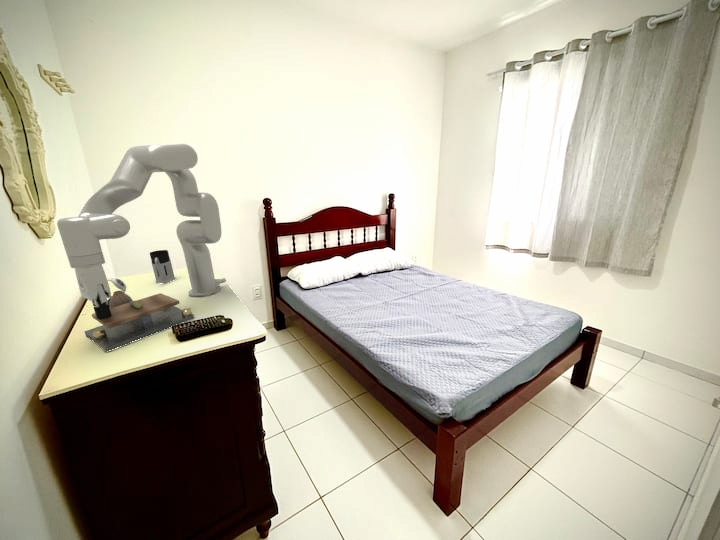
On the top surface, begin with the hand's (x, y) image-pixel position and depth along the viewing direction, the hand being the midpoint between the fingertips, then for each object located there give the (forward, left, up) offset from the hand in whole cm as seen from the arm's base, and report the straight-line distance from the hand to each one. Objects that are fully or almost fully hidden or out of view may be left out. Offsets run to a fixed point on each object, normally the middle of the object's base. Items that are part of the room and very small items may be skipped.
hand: (104, 317), depth 89 cm
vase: (-10, -19, -7) cm, 23 cm away
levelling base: (-9, 0, -7) cm, 11 cm away
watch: (-12, -31, -7) cm, 34 cm away
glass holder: (-35, -44, -7) cm, 57 cm away
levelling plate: (-9, 0, -1) cm, 9 cm away
